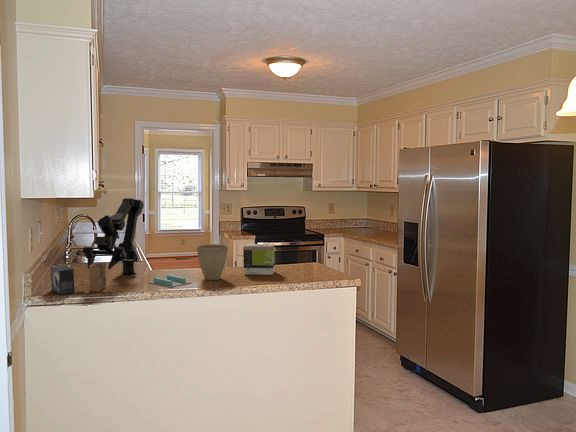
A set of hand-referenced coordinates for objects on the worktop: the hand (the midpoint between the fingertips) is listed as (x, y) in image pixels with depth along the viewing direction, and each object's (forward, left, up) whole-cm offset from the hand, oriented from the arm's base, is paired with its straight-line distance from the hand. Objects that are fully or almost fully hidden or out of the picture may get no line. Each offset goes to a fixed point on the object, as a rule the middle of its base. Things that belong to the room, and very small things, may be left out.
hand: (98, 268), depth 214 cm
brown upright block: (+1, -1, -9) cm, 9 cm away
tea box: (+1, +77, -9) cm, 78 cm away
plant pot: (+3, +51, -9) cm, 52 cm away
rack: (+3, +30, -9) cm, 32 cm away
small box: (-1, -15, -9) cm, 17 cm away
